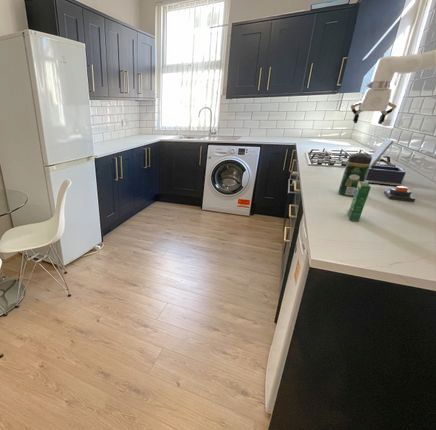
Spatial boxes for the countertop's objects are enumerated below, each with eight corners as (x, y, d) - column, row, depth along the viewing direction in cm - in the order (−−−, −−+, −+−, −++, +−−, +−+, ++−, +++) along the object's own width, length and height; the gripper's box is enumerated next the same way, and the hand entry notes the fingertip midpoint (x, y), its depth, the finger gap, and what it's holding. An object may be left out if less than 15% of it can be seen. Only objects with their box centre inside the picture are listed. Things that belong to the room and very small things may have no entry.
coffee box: (347, 213, 107) (358, 180, 102) (356, 215, 105) (368, 181, 100) (348, 220, 101) (360, 185, 96) (358, 222, 99) (371, 186, 94)
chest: (393, 182, 147) (399, 167, 144) (399, 187, 138) (406, 172, 135) (360, 178, 153) (365, 164, 150) (364, 183, 144) (369, 168, 141)
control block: (383, 193, 129) (386, 186, 128) (407, 196, 125) (410, 188, 124) (388, 199, 121) (391, 191, 120) (413, 202, 118) (417, 194, 116)
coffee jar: (339, 190, 134) (351, 151, 127) (360, 193, 129) (374, 153, 122) (336, 194, 128) (349, 153, 121) (358, 198, 123) (373, 156, 116)
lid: (388, 138, 142) (386, 137, 143) (394, 141, 133) (392, 140, 134) (366, 163, 150) (365, 163, 150) (370, 168, 141) (369, 167, 141)
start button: (394, 189, 124) (395, 185, 124) (405, 190, 123) (406, 186, 122) (396, 191, 122) (397, 187, 121) (407, 192, 120) (409, 188, 119)
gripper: (358, 86, 134) (347, 123, 141) (406, 85, 127) (392, 124, 133) (355, 86, 140) (344, 122, 147) (400, 85, 133) (387, 123, 139)
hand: (367, 123), depth 140 cm, fingers open, 9 cm apart
